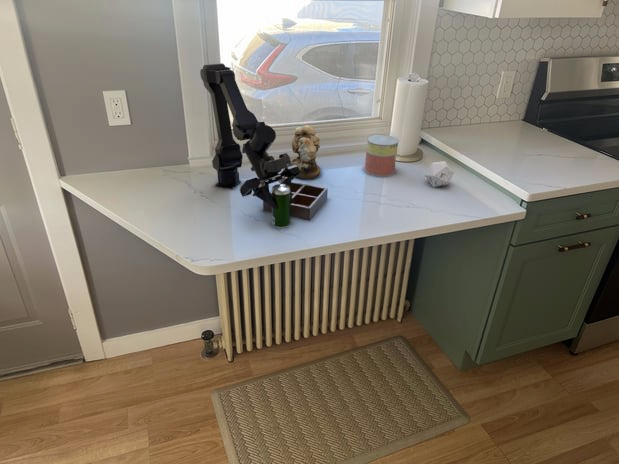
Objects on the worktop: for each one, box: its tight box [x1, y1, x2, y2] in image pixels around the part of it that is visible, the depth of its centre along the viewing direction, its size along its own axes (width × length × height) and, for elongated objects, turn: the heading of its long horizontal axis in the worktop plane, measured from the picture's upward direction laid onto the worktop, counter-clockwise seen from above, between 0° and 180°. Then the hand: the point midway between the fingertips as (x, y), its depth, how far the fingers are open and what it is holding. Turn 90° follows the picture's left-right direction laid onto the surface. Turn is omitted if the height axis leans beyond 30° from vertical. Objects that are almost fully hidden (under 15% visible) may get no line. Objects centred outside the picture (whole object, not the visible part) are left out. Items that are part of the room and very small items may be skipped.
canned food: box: [364, 134, 400, 177], centre depth 171 cm, size 11×11×12 cm
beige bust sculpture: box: [287, 124, 321, 181], centre depth 168 cm, size 18×12×17 cm, turn 18°
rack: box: [262, 181, 329, 221], centre depth 147 cm, size 16×16×4 cm
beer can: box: [271, 183, 292, 230], centre depth 134 cm, size 5×5×12 cm
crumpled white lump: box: [424, 160, 455, 188], centre depth 162 cm, size 8×9×10 cm
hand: (284, 206), depth 133 cm, fingers closed on beer can, 5 cm apart
